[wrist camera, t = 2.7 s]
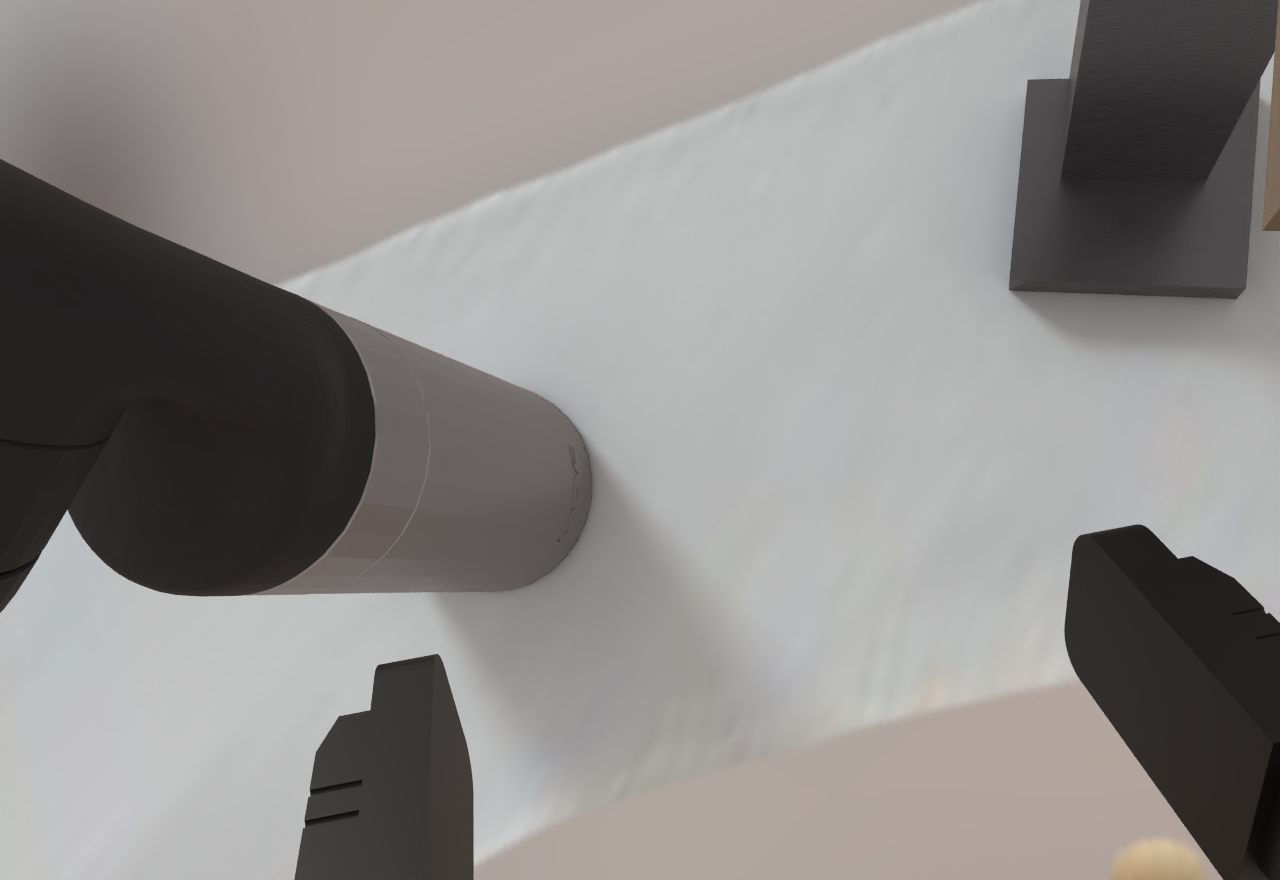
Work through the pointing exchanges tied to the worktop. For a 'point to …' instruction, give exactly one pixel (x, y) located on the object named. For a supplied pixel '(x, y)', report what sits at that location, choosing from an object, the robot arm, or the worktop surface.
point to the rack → (1145, 152)
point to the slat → (1274, 147)
